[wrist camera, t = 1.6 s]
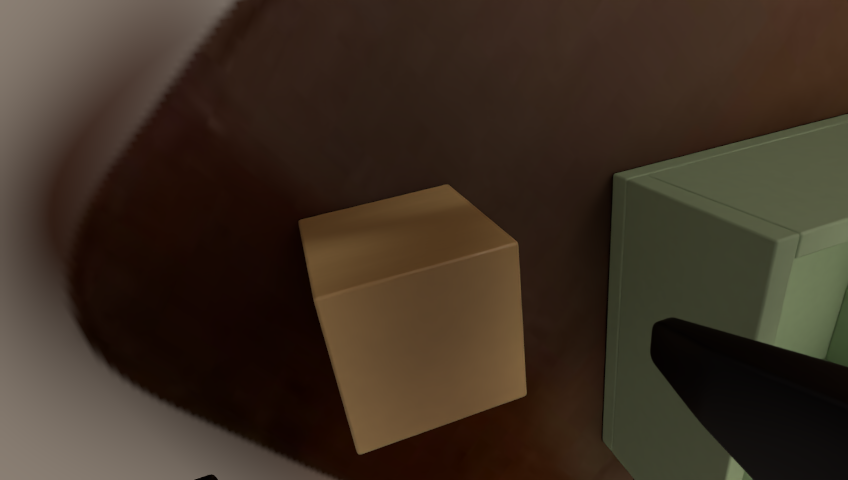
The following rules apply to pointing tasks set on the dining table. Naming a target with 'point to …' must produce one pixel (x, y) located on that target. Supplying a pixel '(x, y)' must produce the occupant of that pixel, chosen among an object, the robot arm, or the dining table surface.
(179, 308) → the dining table surface
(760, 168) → the file box
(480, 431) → the dining table surface
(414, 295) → the block
